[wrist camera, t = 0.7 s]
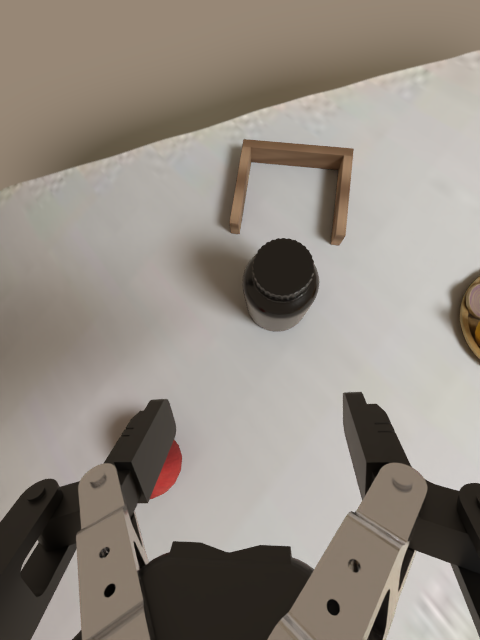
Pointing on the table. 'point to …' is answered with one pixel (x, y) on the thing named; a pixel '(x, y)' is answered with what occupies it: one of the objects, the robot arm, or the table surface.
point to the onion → (168, 471)
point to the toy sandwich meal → (471, 316)
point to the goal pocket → (303, 158)
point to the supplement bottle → (280, 284)
